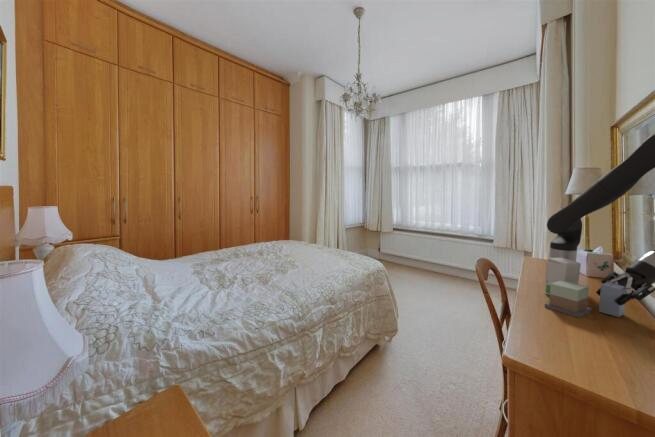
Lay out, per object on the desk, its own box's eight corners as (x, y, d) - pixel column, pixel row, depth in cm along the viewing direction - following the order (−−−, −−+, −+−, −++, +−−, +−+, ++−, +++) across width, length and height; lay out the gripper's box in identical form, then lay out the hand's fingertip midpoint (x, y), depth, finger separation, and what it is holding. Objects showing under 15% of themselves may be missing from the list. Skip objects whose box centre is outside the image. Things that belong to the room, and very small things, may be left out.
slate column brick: (598, 311, 96) (601, 284, 95) (604, 308, 98) (606, 282, 97) (618, 317, 92) (621, 288, 91) (624, 313, 94) (626, 286, 93)
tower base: (544, 306, 101) (546, 283, 100) (557, 301, 106) (559, 278, 105) (578, 317, 92) (580, 291, 91) (591, 311, 97) (593, 286, 96)
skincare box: (544, 293, 114) (546, 257, 112) (558, 292, 115) (560, 257, 113) (563, 301, 106) (566, 263, 104) (578, 300, 106) (581, 262, 105)
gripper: (622, 254, 99) (583, 284, 102) (664, 265, 85) (618, 299, 88) (637, 269, 99) (598, 298, 102) (682, 282, 84) (635, 315, 87)
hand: (607, 298), depth 95 cm, fingers closed on slate column brick, 7 cm apart
